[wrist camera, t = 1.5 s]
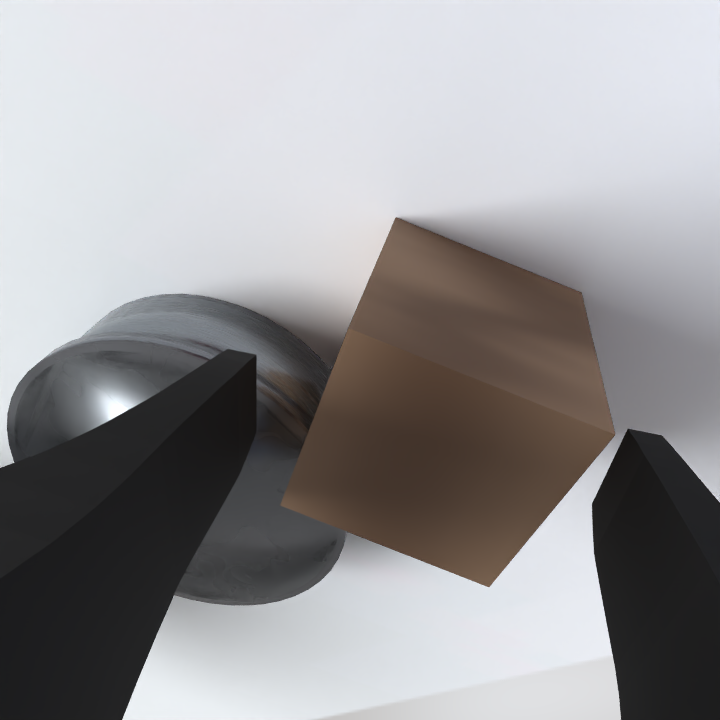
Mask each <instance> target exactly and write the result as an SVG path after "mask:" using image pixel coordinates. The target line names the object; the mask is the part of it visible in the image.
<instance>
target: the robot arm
mask: <svg viewBox="0 0 720 720" xmlns="http://www.w3.org/2000/svg"><path fill="white" fill-rule="evenodd" d="M256 432H257V355H256V354H251V353H246V352H241V351H236V350H231V349H226V350H225V351H223V352H221V353H220V354H218V355H217V356H215V357H213V358H212V359H210V360H209V361H207V362H206V363H204V364H203V365H201V366H200V367H198V368H197V369H195V370H193V371H192V372H190V373H189V374H187V375H186V376H184V377H183V378H181V379H179V380H178V381H176V382H175V383H173V384H171V385H170V386H168V387H167V388H165V389H163V390H162V391H160V392H158V393H157V394H155V395H154V396H152V397H150V398H149V399H147V400H145V401H143V402H142V403H140V404H138V405H136V406H134V407H133V408H131V409H129V410H127V411H125V412H124V413H122V414H120V415H118V416H116V417H115V418H113V419H111V420H109V421H107V422H106V423H104V424H102V425H100V426H98V427H96V428H94V429H92V430H90V431H88V432H86V433H84V434H82V435H80V436H77V437H75V438H73V439H71V440H69V441H66V442H64V443H62V444H60V445H58V446H55V447H53V448H51V449H48V450H46V451H44V452H41V453H39V454H36V455H34V456H31V457H28V458H26V459H23V460H21V461H18V462H15V463H13V464H10V465H7V466H5V467H2V468H0V720H122V719H123V716H124V714H125V711H126V708H127V706H128V703H129V701H130V698H131V696H132V693H133V691H134V688H135V686H136V683H137V681H138V678H139V676H140V673H141V671H142V669H143V666H144V664H145V661H146V659H147V657H148V654H149V652H150V649H151V647H152V645H153V642H154V640H155V637H156V635H157V633H158V630H159V628H160V626H161V623H162V621H163V619H164V617H165V614H166V612H167V610H168V608H169V605H170V603H171V601H172V598H173V596H174V594H175V592H176V589H177V587H178V585H179V583H180V581H181V579H182V577H183V575H184V573H185V571H186V569H187V567H188V565H189V564H190V562H191V560H192V558H193V557H194V555H195V553H196V551H197V550H198V548H199V546H200V544H201V542H202V541H203V539H204V537H205V535H206V534H207V532H208V530H209V528H210V527H211V525H212V523H213V521H214V520H215V518H216V516H217V514H218V512H219V511H220V509H221V507H222V505H223V504H224V502H225V500H226V498H227V496H228V495H229V493H230V491H231V489H232V487H233V486H234V484H235V482H236V480H237V478H238V476H239V475H240V472H241V470H242V467H243V465H244V463H245V460H246V458H247V455H248V453H249V450H250V448H251V445H252V443H253V440H254V437H255V435H256ZM592 519H593V542H594V555H595V561H596V567H597V573H598V578H599V584H600V590H601V595H602V600H603V606H604V611H605V616H606V622H607V627H608V632H609V638H610V643H611V648H612V654H613V659H614V664H615V670H616V677H617V684H618V691H619V699H620V711H621V720H720V503H719V501H718V500H717V499H716V498H715V497H714V496H713V494H712V493H711V492H710V491H709V490H708V489H707V487H706V486H705V485H704V484H703V483H702V481H701V480H700V479H699V478H698V477H697V475H696V474H695V473H694V472H693V471H692V470H691V468H690V467H689V466H688V465H687V464H686V462H685V461H684V460H683V459H682V458H681V457H680V455H679V454H678V453H677V452H676V451H675V450H674V448H673V447H672V446H671V445H670V444H669V443H668V442H667V441H666V440H665V438H664V437H663V436H662V435H657V434H652V433H647V432H642V431H637V430H632V429H628V430H627V432H626V434H625V436H624V438H623V440H622V442H621V444H620V446H619V448H618V451H617V453H616V455H615V457H614V459H613V461H612V463H611V465H610V467H609V470H608V472H607V474H606V476H605V478H604V480H603V482H602V484H601V486H600V488H599V491H598V493H597V495H596V497H595V499H594V501H593V503H592Z"/></svg>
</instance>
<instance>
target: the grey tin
mask: <svg viewBox="0 0 720 720" xmlns="http://www.w3.org/2000/svg"><path fill="white" fill-rule="evenodd" d="M226 349H231V350H236V351H241V352H246V353H251V354H256V355H257V432H256V435H255V437H254V440H253V443H252V445H251V448H250V450H249V453H248V455H247V458H246V460H245V463H244V465H243V467H242V470H241V472H240V475H239V476H238V478H237V480H236V482H235V484H234V486H233V487H232V489H231V491H230V493H229V495H228V496H227V498H226V500H225V502H224V504H223V505H222V507H221V509H220V511H219V512H218V514H217V516H216V518H215V520H214V521H213V523H212V525H211V527H210V528H209V530H208V532H207V534H206V535H205V537H204V539H203V541H202V542H201V544H200V546H199V548H198V550H197V551H196V553H195V555H194V557H193V558H192V560H191V562H190V564H189V565H188V567H187V569H186V571H185V573H184V575H183V577H182V579H181V581H180V583H179V585H178V587H177V589H176V592H175V594H174V595H176V596H180V597H184V598H188V599H191V600H196V601H202V602H207V603H214V604H223V605H257V604H266V603H271V602H277V601H281V600H284V599H287V598H290V597H293V596H296V595H298V594H300V593H302V592H304V591H306V590H308V589H310V588H311V587H312V586H314V585H315V584H317V583H318V582H320V581H321V580H322V579H323V578H324V577H325V576H326V575H327V574H328V573H329V572H330V571H331V569H332V568H333V566H334V564H335V563H336V561H337V560H338V558H339V556H340V553H341V551H342V548H343V545H344V542H345V539H346V535H347V531H344V530H342V529H339V528H336V527H334V526H331V525H329V524H326V523H324V522H321V521H319V520H316V519H313V518H311V517H308V516H306V515H303V514H301V513H298V512H296V511H293V510H290V509H288V508H285V507H283V506H280V504H281V502H282V499H283V497H284V494H285V491H286V489H287V486H288V484H289V481H290V478H291V476H292V473H293V471H294V468H295V465H296V463H297V460H298V458H299V455H300V452H301V450H302V447H303V445H304V442H305V439H306V437H307V434H308V432H309V429H310V426H311V424H312V421H313V419H314V416H315V413H316V411H317V408H318V406H319V403H320V400H321V398H322V395H323V393H324V390H325V387H326V385H327V382H328V380H329V377H330V374H331V372H332V371H331V370H330V369H329V368H328V367H327V366H326V364H325V363H324V362H323V361H322V360H321V359H320V357H319V356H317V355H316V354H315V353H314V352H313V351H312V350H311V349H310V348H309V347H308V346H307V345H306V344H305V343H303V342H302V341H301V340H299V339H298V338H297V337H295V336H294V335H293V334H291V333H290V332H289V331H287V330H286V329H285V328H283V327H281V326H280V325H278V324H276V323H275V322H273V321H271V320H269V319H268V318H266V317H264V316H262V315H260V314H257V313H255V312H253V311H251V310H249V309H247V308H244V307H241V306H238V305H235V304H232V303H229V302H226V301H223V300H219V299H214V298H209V297H205V296H197V295H187V294H165V295H156V296H150V297H145V298H141V299H138V300H135V301H132V302H129V303H126V304H124V305H122V306H120V307H119V308H117V309H115V310H113V311H111V312H110V313H109V314H108V315H106V316H105V317H104V318H103V319H101V320H100V321H99V322H98V323H97V324H95V325H94V326H93V327H92V328H91V329H90V330H89V331H87V332H86V333H85V334H84V335H83V336H82V337H81V338H79V339H76V340H73V341H70V342H68V343H66V344H65V345H63V346H61V347H59V348H57V349H55V350H54V351H52V352H51V353H50V354H49V355H47V356H46V357H45V358H44V359H42V360H41V361H40V362H39V363H38V364H37V365H35V366H34V367H33V368H32V369H31V370H29V371H28V372H27V374H26V375H25V376H24V377H23V379H22V380H21V381H20V382H19V384H18V385H17V387H16V390H15V392H14V394H13V396H12V398H11V401H10V406H9V410H8V417H7V432H8V440H9V446H10V449H11V453H12V456H13V460H14V462H18V461H21V460H23V459H26V458H28V457H31V456H34V455H36V454H39V453H41V452H44V451H46V450H48V449H51V448H53V447H55V446H58V445H60V444H62V443H64V442H66V441H69V440H71V439H73V438H75V437H77V436H80V435H82V434H84V433H86V432H88V431H90V430H92V429H94V428H96V427H98V426H100V425H102V424H104V423H106V422H107V421H109V420H111V419H113V418H115V417H116V416H118V415H120V414H122V413H124V412H125V411H127V410H129V409H131V408H133V407H134V406H136V405H138V404H140V403H142V402H143V401H145V400H147V399H149V398H150V397H152V396H154V395H155V394H157V393H158V392H160V391H162V390H163V389H165V388H167V387H168V386H170V385H171V384H173V383H175V382H176V381H178V380H179V379H181V378H183V377H184V376H186V375H187V374H189V373H190V372H192V371H193V370H195V369H197V368H198V367H200V366H201V365H203V364H204V363H206V362H207V361H209V360H210V359H212V358H213V357H215V356H217V355H218V354H220V353H221V352H223V351H225V350H226Z"/></svg>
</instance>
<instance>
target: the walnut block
mask: <svg viewBox="0 0 720 720" xmlns="http://www.w3.org/2000/svg"><path fill="white" fill-rule="evenodd" d="M614 436H615V431H614V427H613V423H612V418H611V414H610V410H609V406H608V402H607V397H606V393H605V389H604V385H603V381H602V377H601V372H600V368H599V364H598V360H597V356H596V351H595V347H594V343H593V339H592V335H591V331H590V326H589V322H588V318H587V314H586V310H585V305H584V301H583V297H582V293H581V292H579V291H576V290H574V289H571V288H569V287H566V286H564V285H561V284H559V283H556V282H554V281H552V280H549V279H547V278H544V277H542V276H539V275H537V274H534V273H532V272H529V271H527V270H524V269H522V268H519V267H517V266H514V265H512V264H510V263H507V262H505V261H502V260H500V259H497V258H495V257H492V256H490V255H487V254H485V253H482V252H480V251H477V250H475V249H473V248H470V247H468V246H465V245H463V244H460V243H458V242H455V241H453V240H450V239H448V238H445V237H443V236H440V235H438V234H436V233H433V232H431V231H428V230H426V229H423V228H421V227H418V226H416V225H413V224H411V223H408V222H406V221H403V220H401V219H399V218H395V220H394V223H393V225H392V227H391V230H390V232H389V234H388V237H387V239H386V241H385V244H384V246H383V248H382V251H381V253H380V255H379V258H378V260H377V262H376V265H375V267H374V269H373V272H372V274H371V276H370V279H369V281H368V283H367V286H366V288H365V290H364V293H363V295H362V297H361V300H360V302H359V304H358V307H357V309H356V311H355V314H354V316H353V318H352V321H351V323H350V325H349V328H348V330H347V333H346V335H345V338H344V341H343V343H342V346H341V348H340V351H339V354H338V356H337V359H336V361H335V364H334V367H333V369H332V372H331V374H330V377H329V380H328V382H327V385H326V387H325V390H324V393H323V395H322V398H321V400H320V403H319V406H318V408H317V411H316V413H315V416H314V419H313V421H312V424H311V426H310V429H309V432H308V434H307V437H306V439H305V442H304V445H303V447H302V450H301V452H300V455H299V458H298V460H297V463H296V465H295V468H294V471H293V473H292V476H291V478H290V481H289V484H288V486H287V489H286V491H285V494H284V497H283V499H282V502H281V504H280V506H283V507H285V508H288V509H290V510H293V511H296V512H298V513H301V514H303V515H306V516H308V517H311V518H313V519H316V520H319V521H321V522H324V523H326V524H329V525H331V526H334V527H336V528H339V529H342V530H344V531H347V532H349V533H352V534H354V535H357V536H359V537H362V538H365V539H367V540H370V541H372V542H375V543H377V544H380V545H382V546H385V547H388V548H390V549H393V550H395V551H398V552H400V553H403V554H405V555H408V556H411V557H413V558H416V559H418V560H421V561H423V562H426V563H428V564H431V565H433V566H436V567H439V568H441V569H444V570H446V571H449V572H451V573H454V574H456V575H459V576H462V577H464V578H467V579H469V580H472V581H474V582H477V583H479V584H482V585H485V586H487V587H490V585H491V584H492V583H493V582H494V581H495V579H496V578H497V577H498V576H499V575H500V573H501V572H502V571H503V570H504V569H505V567H506V566H507V565H508V564H509V563H510V561H511V560H512V559H513V558H514V557H515V555H516V554H517V553H518V552H519V550H520V549H521V548H522V547H523V546H524V544H525V543H526V542H527V541H528V540H529V538H530V537H531V536H532V535H533V534H534V532H535V531H536V530H537V529H538V528H539V526H540V525H541V524H542V523H543V522H544V520H545V519H546V518H547V517H548V515H549V514H550V513H551V512H552V511H553V509H554V508H555V507H556V506H557V505H558V503H559V502H560V501H561V500H562V499H563V497H564V496H565V495H566V494H567V493H568V491H569V490H570V489H571V488H572V486H573V485H574V484H575V483H576V482H577V480H578V479H579V478H580V477H581V476H582V474H583V473H584V472H585V471H586V470H587V468H588V467H589V466H590V465H591V464H592V462H593V461H594V460H595V459H596V458H597V456H598V455H599V454H600V453H601V451H602V450H603V449H604V448H605V447H606V445H607V444H608V443H609V442H610V441H611V439H612V438H613V437H614Z"/></svg>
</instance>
